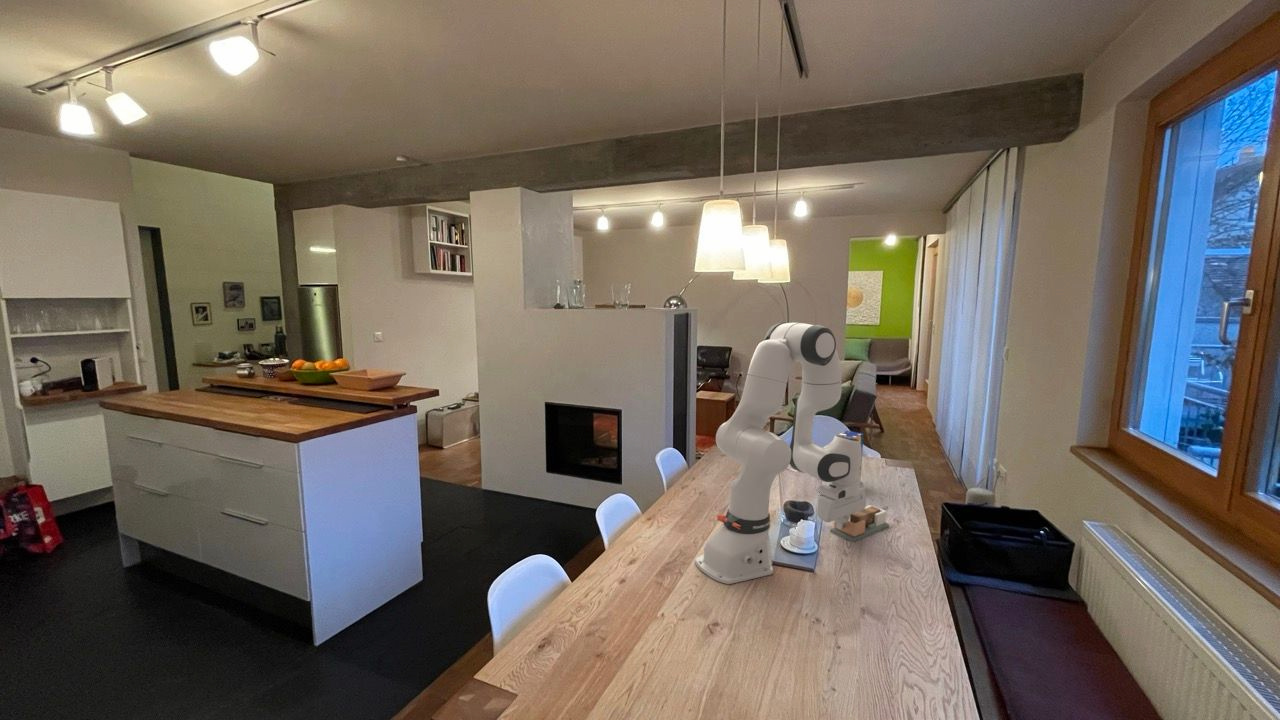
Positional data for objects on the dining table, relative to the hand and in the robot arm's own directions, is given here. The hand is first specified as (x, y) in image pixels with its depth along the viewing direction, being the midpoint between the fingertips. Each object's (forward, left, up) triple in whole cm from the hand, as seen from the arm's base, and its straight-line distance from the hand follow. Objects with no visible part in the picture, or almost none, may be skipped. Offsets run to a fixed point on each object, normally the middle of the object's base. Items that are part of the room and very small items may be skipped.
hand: (841, 528), depth 155 cm
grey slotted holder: (+10, 0, -3) cm, 11 cm away
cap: (+4, 0, -2) cm, 5 cm away
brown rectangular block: (+13, 0, -2) cm, 13 cm away
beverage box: (+40, +25, -3) cm, 48 cm away
